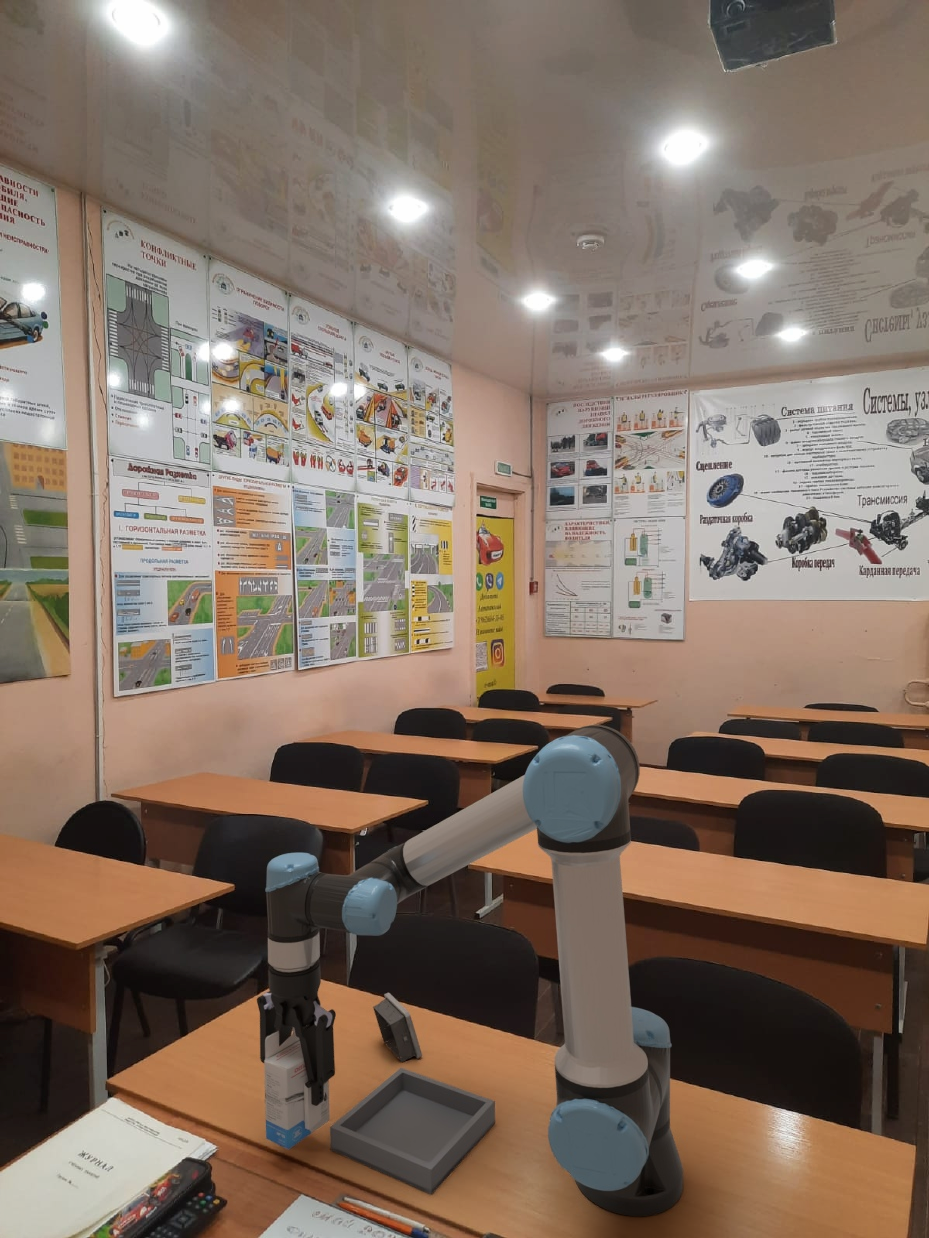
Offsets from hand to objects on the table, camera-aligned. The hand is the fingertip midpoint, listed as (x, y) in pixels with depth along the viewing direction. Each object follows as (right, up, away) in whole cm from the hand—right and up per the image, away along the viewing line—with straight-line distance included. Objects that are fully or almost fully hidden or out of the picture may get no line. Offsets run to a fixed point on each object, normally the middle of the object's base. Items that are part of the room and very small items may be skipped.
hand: (298, 1117), depth 121 cm
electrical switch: (+13, -5, +28) cm, 31 cm away
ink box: (0, -2, 0) cm, 2 cm away
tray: (+17, -5, +4) cm, 18 cm away
